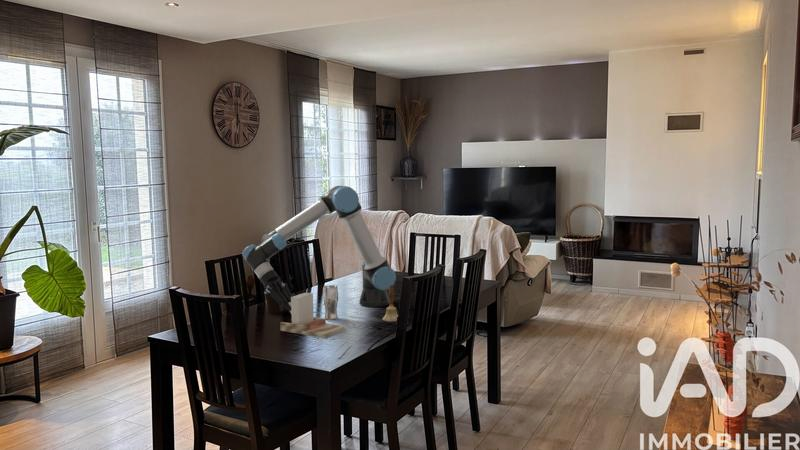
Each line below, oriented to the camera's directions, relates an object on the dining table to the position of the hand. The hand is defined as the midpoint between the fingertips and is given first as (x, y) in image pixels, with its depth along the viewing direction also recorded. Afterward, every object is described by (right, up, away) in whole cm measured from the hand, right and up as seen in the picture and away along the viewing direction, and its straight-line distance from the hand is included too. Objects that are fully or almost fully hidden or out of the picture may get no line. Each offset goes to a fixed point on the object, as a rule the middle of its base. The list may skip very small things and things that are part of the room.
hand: (296, 315), depth 261 cm
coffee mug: (-16, -3, +30) cm, 34 cm away
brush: (+41, -4, +12) cm, 43 cm away
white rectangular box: (+3, -4, -1) cm, 5 cm away
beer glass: (+13, -4, +15) cm, 21 cm away
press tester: (+7, -6, -4) cm, 10 cm away
